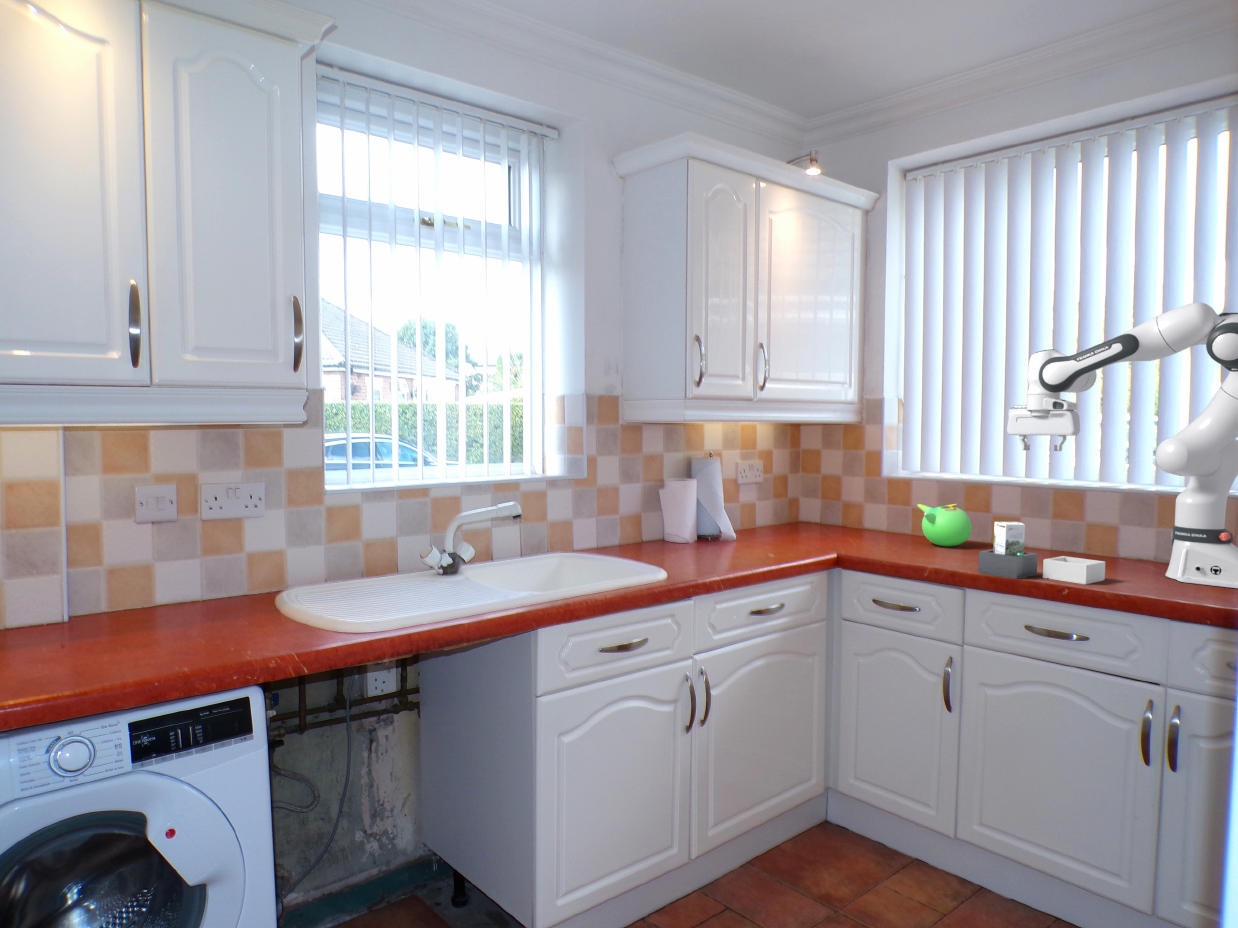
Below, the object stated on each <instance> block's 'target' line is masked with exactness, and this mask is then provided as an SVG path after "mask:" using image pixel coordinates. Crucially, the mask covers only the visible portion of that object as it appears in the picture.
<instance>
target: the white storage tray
mask: <svg viewBox="0 0 1238 928" xmlns="http://www.w3.org/2000/svg"><path fill="white" fill-rule="evenodd" d="M1042 561H1043V562H1042V563H1043V566H1042V578H1043V579H1047V578H1049V580H1056V581H1060V582H1061V581H1062V582H1069V583H1075V584H1080V585H1090V584H1093V583H1098V582H1103V581H1105V579H1106V561H1104V560H1103V561H1102V560H1096V559H1088V558H1081V557H1073V556H1066V555H1061V556H1056V557H1050V558H1044V559H1043V560H1042Z"/></svg>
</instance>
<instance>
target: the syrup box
mask: <svg viewBox="0 0 1238 928" xmlns="http://www.w3.org/2000/svg"><path fill="white" fill-rule="evenodd" d="M1025 535H1026V524H1025V523H1023V522H1020V521H994V527H993V548H992V549H993V553H998V554H1006V555H1013V556H1017V553H1022V554H1024V552H1025V539H1026V538H1025Z"/></svg>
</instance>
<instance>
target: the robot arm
mask: <svg viewBox="0 0 1238 928" xmlns="http://www.w3.org/2000/svg"><path fill="white" fill-rule="evenodd" d="M1198 345H1205V348H1206V352H1207V354H1208V355H1209V357H1210V358H1211V359H1212V360H1213V361H1214V362H1216V363H1218V364H1219V365H1221V366H1222V367H1224V368H1225V370H1227V371H1229V373H1228V375H1227V376H1226V378H1225V380H1224V381H1223V382H1222V383H1221V385H1220V387H1218V389H1217V391H1216V393H1215V394H1214V396H1213V397H1212V399H1211V400H1209V403H1208V404H1207V405H1206V406H1205V408H1204V410H1203V411H1202V412H1201V413H1200V414H1199V415H1198V416H1197V417H1195V419H1194V420H1192V421H1191V422H1190V423H1189V424H1187V425H1186V426H1185V427H1184V428H1183V429H1182V430H1179V431H1180V432H1178V433H1176V434H1175V435H1173V436H1171V437H1169V438H1167V439H1164V440H1163V441H1161V442H1160V443H1159V445H1158V446H1157V448H1156V451H1155V461H1156V463H1157V466H1158V467H1159V469H1161V470H1162V471H1163V472H1165V473H1167V474H1171V475H1174V476H1179V477H1190V478H1189V481H1188V484H1187V485H1186V487H1185V489H1183V491H1181V492H1180V493H1179V494H1178V495H1177V497H1176V499H1175V510H1174V511H1175V513H1174V525H1173V526H1172V530H1171V546H1172V549H1171V550H1172V551H1171V556H1170V561H1169V565H1168V567H1167V570H1166V572H1165V574H1164V575H1165V577H1167V578H1170V579H1173V580H1177V581H1178V582H1182V583H1188V584H1196V585H1204V586H1205V585H1207V586H1215V587H1223V588H1224V587H1225V588H1234V589H1238V547H1237V546H1236V545H1235V544H1233V543H1234V537H1235V533H1236V532H1232V531H1230V530H1228V529H1226V527H1225V526H1226V525H1225V524H1226V512H1227V510H1226V509H1227V501H1228V498H1229V497H1228V496H1229V493H1230V491H1231V489H1232V486H1233V484H1234V482H1235V480H1236V479H1237V477H1238V439H1237V438H1238V312H1223V313H1220V314H1219V315H1218V313H1217V312H1216V311H1215V309H1214V308H1213V307H1212V306H1211V305H1209V304H1207V303H1205V302H1201V301H1196V302H1192V303H1188V304H1185V305H1183V306H1179V307H1176V308H1173V309H1169V310H1168V311H1165V312H1164V313H1160V314H1159V315H1156V316H1155V317H1153V318H1150V319H1149V320H1146V321H1143V322H1142V323H1141V324H1139V325H1137V326H1135V327H1133V328H1131V329H1129V330H1127V331H1126V332H1123V333H1121V334H1118V335H1117V336H1115V337H1113V338H1111V339H1108V340H1105V341H1104V342H1103V341H1102V342H1101V343H1099V344H1097V345H1094V346H1091V347H1089V348H1085V349H1084V350H1082V351H1080V352H1076V353H1073V354H1072V355H1071V354H1070V355H1066V354H1064V353H1062V352H1061V351H1059V350H1058V349H1054V348H1053V349H1052V348H1051V349H1044V350H1040V351H1036V352H1035V353H1032V354H1031V356H1030V358H1029V362H1028V367H1027V383H1028V385H1027V386H1028V388H1027V393H1026V404H1022V405H1019V404H1018V405H1013V406H1011V407H1010V408H1009V409H1008V421H1007V425H1006V426H1007V427H1006V428H1007V429H1006V432H1007V434H1008V435H1009V436H1018V440H1019V442H1020V444H1021V445H1022V446H1021V447H1022V451H1030V449H1031V444H1028V442H1027V441H1026V440H1027V438H1028V436H1057V439H1058V440H1059V441H1058V443H1057V444H1054V445H1053V448H1054V449H1053V450H1054V452H1062V450H1063V445H1064V444H1065V443H1066V440H1067V436H1071V437H1072V436H1073V437H1074V436H1078V435H1079V433H1080V432H1081V422H1080V415H1079V413H1078V412H1077V411H1076V410H1078V404H1077V403H1076V402H1074V401H1073V402H1072V401H1069V400H1066V399H1062V398H1061V393H1069V394H1070V393H1074V394H1075V393H1076V394H1077V393H1083V392H1086V391H1088V390H1090V389H1091V388H1092V387H1093V386H1094V385H1095V382H1097V381H1096V379H1097V371H1098V370H1100V369H1103V368H1106V367H1107V366H1111V365H1114V364H1119V363H1123V362H1124V363H1126V362H1153V361H1156V360H1161V359H1164V358H1167V357H1168V358H1169V357H1170V356H1173V355H1175V354H1178V353H1180V352H1182V351H1185V350H1187V349H1189V348H1191V347H1195V346H1198Z"/></svg>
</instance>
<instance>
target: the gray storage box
mask: <svg viewBox="0 0 1238 928" xmlns="http://www.w3.org/2000/svg"><path fill="white" fill-rule="evenodd" d="M1038 556H1039V555H1038V552H1036V553H1035V552H1031V551H1030V552H1029V551H1024V554H1022V553H1017V556H1013V555H1006V554H998V553H993V548H992V549H986V550H981V551H978V563H977V564H978V565H977V567H978V568H977V573H978V574H983V575H989V576H990V575H991V576H996V577H1000V578H1001V577H1002V578H1008V579H1014V580H1019V579H1025V578H1027V577H1028V576H1029V577H1034V576H1037V575H1038V559H1039V558H1038ZM1033 575H1034V576H1033Z"/></svg>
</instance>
